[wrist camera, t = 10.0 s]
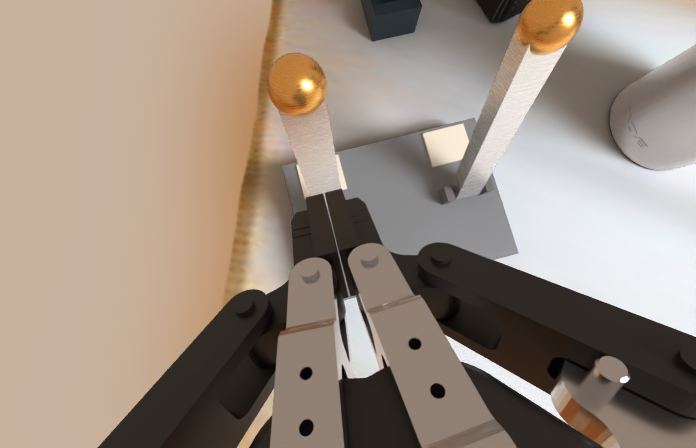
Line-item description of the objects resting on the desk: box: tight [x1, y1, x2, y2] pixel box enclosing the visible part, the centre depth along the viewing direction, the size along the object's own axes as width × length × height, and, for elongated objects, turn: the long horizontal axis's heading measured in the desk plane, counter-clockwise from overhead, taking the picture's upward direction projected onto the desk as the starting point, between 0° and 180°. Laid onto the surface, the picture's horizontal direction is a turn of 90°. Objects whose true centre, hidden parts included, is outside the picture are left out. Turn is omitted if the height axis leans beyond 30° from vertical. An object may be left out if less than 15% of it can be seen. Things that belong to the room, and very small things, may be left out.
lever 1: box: [267, 53, 341, 232], centre depth 18 cm, size 2×2×14 cm
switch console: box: [282, 118, 518, 300], centre depth 26 cm, size 17×12×4 cm
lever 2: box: [451, 0, 584, 200], centre depth 18 cm, size 2×2×14 cm
